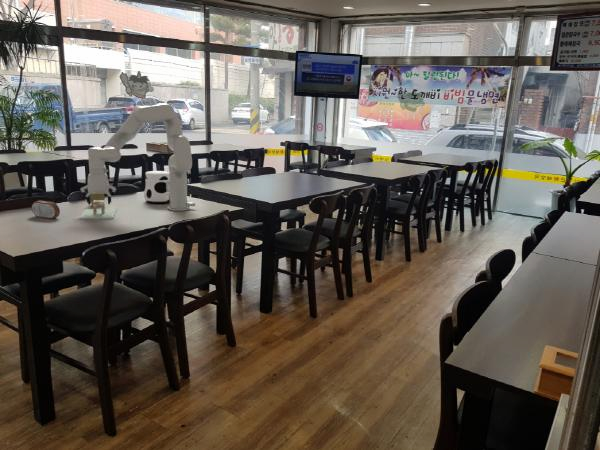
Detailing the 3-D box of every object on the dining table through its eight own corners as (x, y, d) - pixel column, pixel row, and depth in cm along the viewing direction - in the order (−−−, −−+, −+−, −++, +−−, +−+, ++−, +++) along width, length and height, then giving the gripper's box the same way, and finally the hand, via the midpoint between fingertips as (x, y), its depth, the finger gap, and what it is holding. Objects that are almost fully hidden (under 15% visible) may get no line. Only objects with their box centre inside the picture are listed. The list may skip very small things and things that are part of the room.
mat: (117, 209, 268) (117, 208, 268) (112, 218, 248) (112, 217, 247) (86, 210, 264) (85, 208, 264) (79, 219, 243) (78, 218, 243)
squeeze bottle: (107, 204, 282) (106, 173, 278) (100, 206, 274) (99, 175, 270) (94, 203, 282) (92, 172, 278) (87, 205, 275) (85, 174, 270)
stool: (104, 212, 259) (104, 200, 257) (103, 214, 254) (103, 202, 252) (94, 212, 257) (94, 200, 256) (93, 214, 253) (92, 202, 251)
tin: (60, 218, 243) (59, 202, 241) (56, 220, 240) (54, 203, 238) (35, 215, 246) (34, 199, 244) (31, 216, 243) (29, 200, 241)
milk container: (144, 199, 301) (143, 170, 297) (173, 199, 306) (172, 170, 302) (144, 204, 285) (143, 174, 281) (174, 204, 290) (174, 174, 286)
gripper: (115, 170, 256) (117, 202, 260) (80, 170, 252) (82, 202, 256) (114, 172, 249) (116, 205, 253) (77, 172, 245) (80, 205, 249)
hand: (99, 204), depth 255 cm, fingers open, 9 cm apart
